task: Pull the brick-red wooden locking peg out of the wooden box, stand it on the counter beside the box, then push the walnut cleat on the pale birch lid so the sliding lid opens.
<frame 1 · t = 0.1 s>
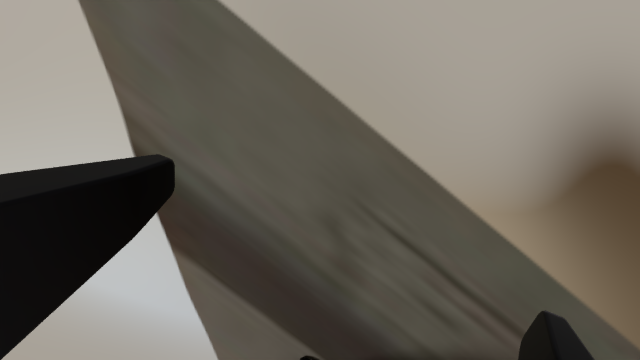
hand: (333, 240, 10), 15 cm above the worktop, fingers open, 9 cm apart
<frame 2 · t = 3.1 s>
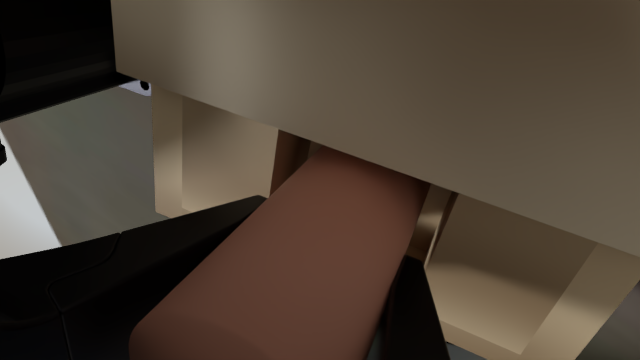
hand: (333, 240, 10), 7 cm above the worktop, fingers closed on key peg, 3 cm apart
key peg: (377, 168, 12), point 4 cm above the worktop, touching gripper, wooden box
wooden box: (441, 7, 13), on the worktop
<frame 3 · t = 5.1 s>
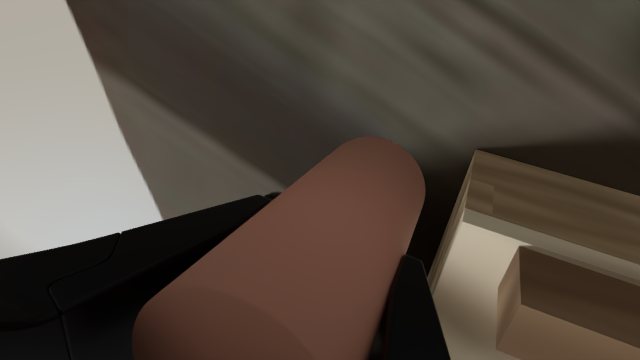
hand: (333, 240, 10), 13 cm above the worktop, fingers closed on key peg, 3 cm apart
key peg: (371, 187, 13), point 10 cm above the worktop, tilted 7°, touching gripper
wooden box: (544, 295, 22), on the worktop
when the fingers open (5 cm above the worktop, at t = 7.1 s): key peg stays where it is, on the worktop.
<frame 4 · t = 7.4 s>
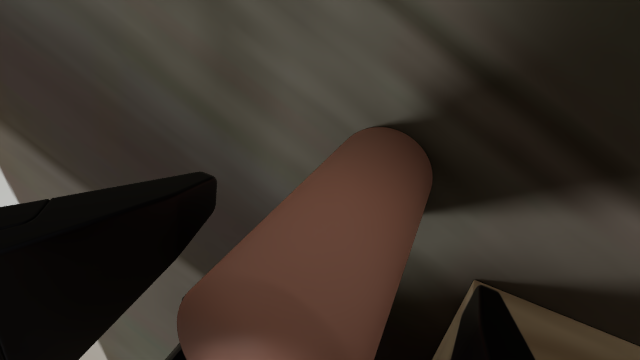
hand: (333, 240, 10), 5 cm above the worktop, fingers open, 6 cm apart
key peg: (381, 175, 13), on the worktop
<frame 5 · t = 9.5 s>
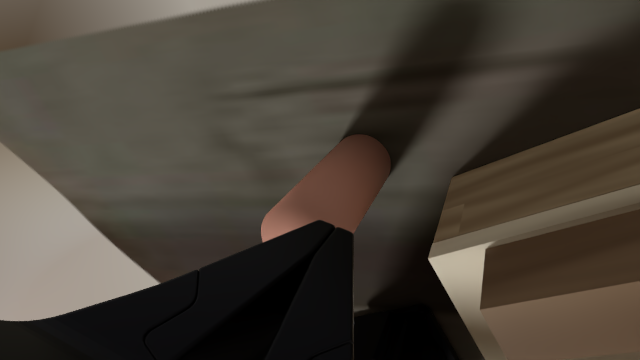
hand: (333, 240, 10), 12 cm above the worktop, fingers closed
key peg: (361, 162, 22), on the worktop
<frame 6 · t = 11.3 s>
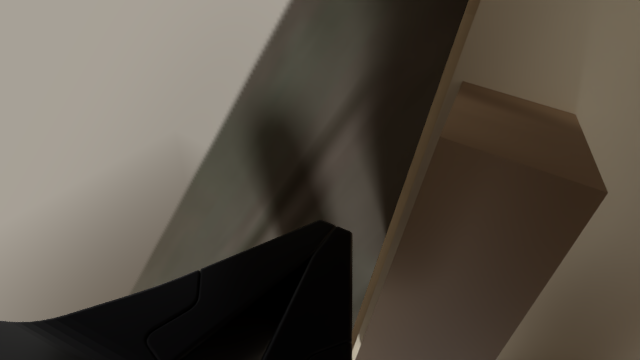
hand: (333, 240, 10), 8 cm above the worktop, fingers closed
lid: (607, 359, 8), point 8 cm above the worktop, slide at 0.3 cm, touching gripper
wooden box: (630, 200, 14), on the worktop
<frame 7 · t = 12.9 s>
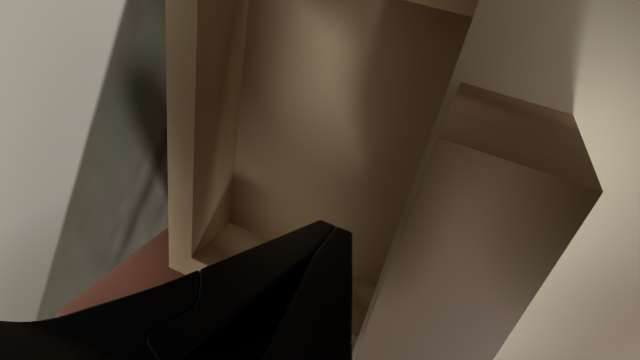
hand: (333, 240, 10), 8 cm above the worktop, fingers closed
lid: (606, 358, 8), point 8 cm above the worktop, slide at 7.6 cm, touching gripper
key peg: (205, 235, 23), on the worktop
wooden box: (423, 132, 16), on the worktop
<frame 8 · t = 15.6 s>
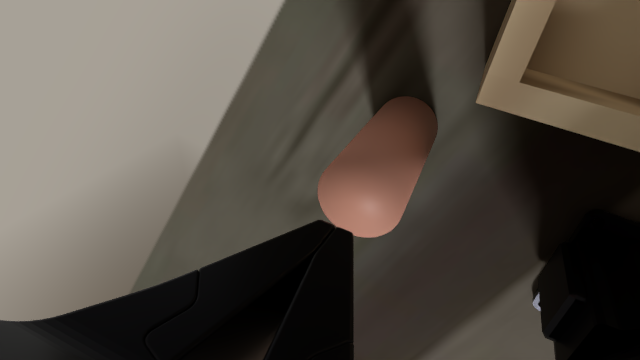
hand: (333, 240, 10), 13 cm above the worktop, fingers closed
key peg: (405, 126, 21), on the worktop
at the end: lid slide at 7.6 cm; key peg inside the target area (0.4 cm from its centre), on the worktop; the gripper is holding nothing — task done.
